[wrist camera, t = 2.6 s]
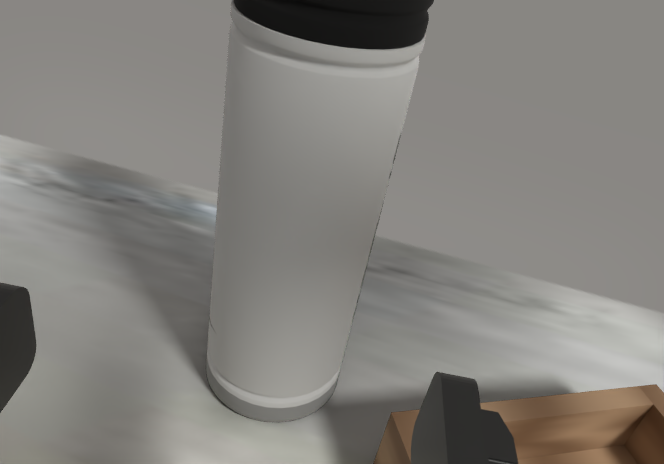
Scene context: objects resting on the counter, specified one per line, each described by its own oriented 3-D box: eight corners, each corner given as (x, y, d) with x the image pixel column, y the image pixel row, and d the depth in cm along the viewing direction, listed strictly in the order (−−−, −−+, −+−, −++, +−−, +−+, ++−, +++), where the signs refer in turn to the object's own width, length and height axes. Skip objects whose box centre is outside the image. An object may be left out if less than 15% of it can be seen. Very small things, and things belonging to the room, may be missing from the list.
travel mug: (173, 360, 28) (184, -133, 16) (281, 308, 32) (349, -114, 21) (253, 455, 24) (337, -83, 13) (363, 383, 29) (497, -72, 17)
